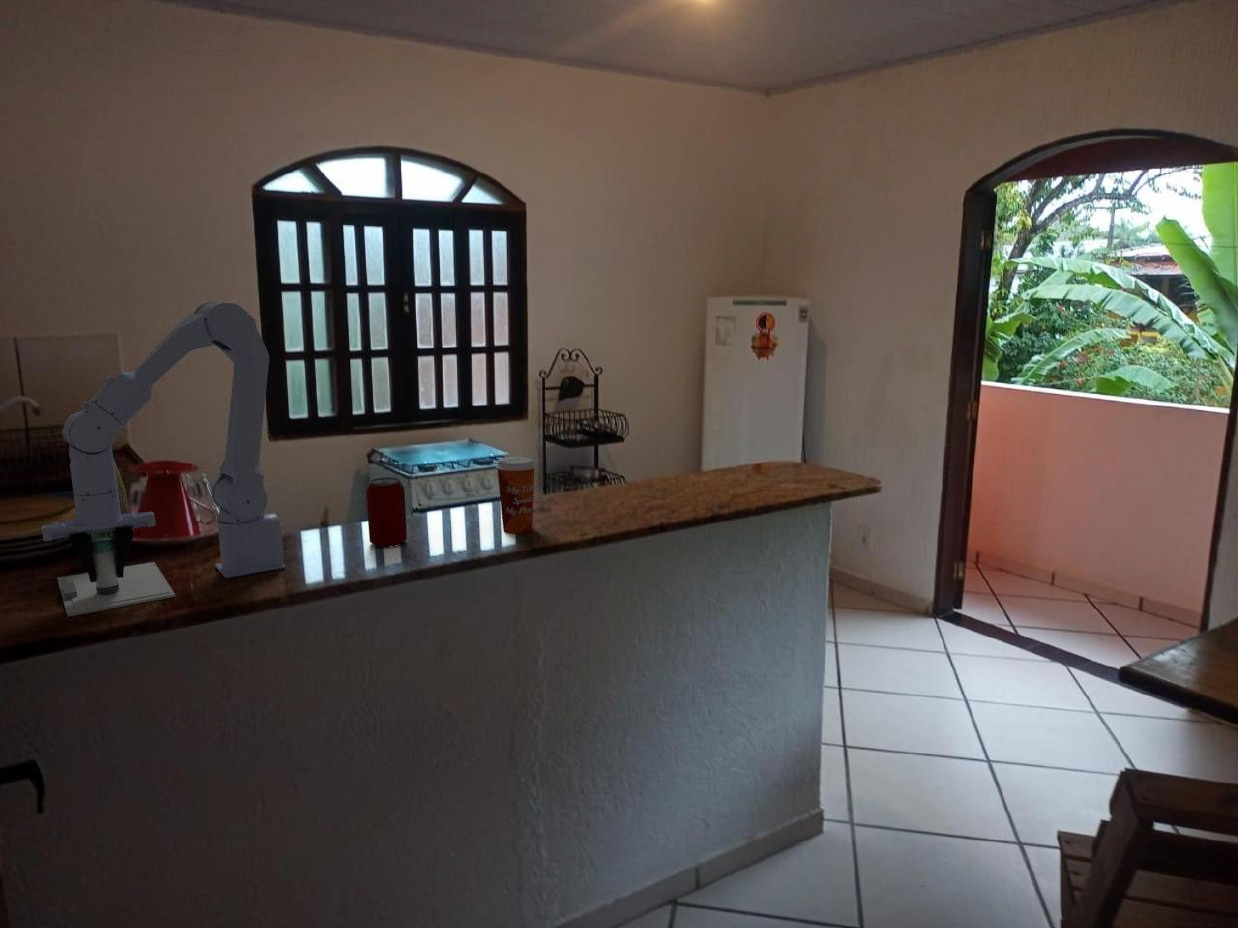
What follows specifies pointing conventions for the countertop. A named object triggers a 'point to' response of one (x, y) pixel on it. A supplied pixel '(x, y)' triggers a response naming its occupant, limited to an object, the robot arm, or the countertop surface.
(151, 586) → the clipboard
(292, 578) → the countertop surface
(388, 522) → the beverage can
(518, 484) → the paper cup
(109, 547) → the white cylinder
